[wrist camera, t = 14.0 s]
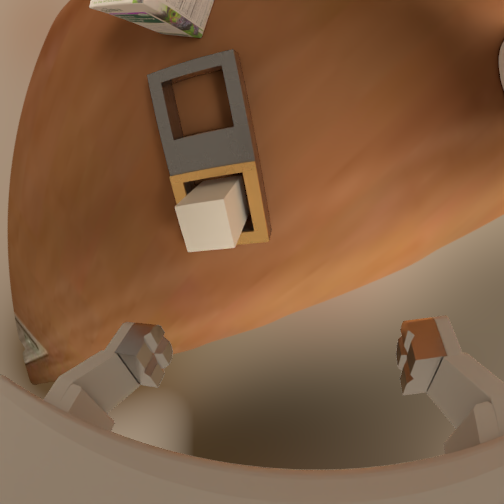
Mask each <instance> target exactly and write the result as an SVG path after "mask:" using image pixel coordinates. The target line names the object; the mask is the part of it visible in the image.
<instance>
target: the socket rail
mask: <svg viewBox="0 0 504 504" xmlns="http://www.w3.org/2000/svg"><path fill="white" fill-rule="evenodd" d="M218 70H223V74H224V79H225V84H226V89H227V94H228V99H229V104H230V109H231V114H232V119H233V124H234V126H230V127H225V128H220V129H215V130H211V131H206V132H202V133H197V134H193V135H189V136H185V137H183V133H182V128H181V124H180V119H179V115H178V110H177V105H176V101H175V96H174V91H173V87H172V83H175V82H178V81H181V80H185V79H188V78H192V77H195V76H199V75H203V74H206V73H210V72H214V71H218ZM147 77H148V83H149V87H150V92H151V97H152V102H153V106H154V111H155V115H156V120H157V124H158V129H159V133H160V137H161V141H162V145H163V149H164V153H165V157H166V161H167V165H168V169H169V173H170V177H169V178H170V182H171V185H172V189H173V193H174V196H175V200H176V203H177V204H178V203H179V202H180V201H181V200H182V199H183V198H184V197H185V196H187V195H188V194H189V193H190V192H191V191H192V190H193V189H194V188H195V183H194V180H199V179H205V178H210V177H216V176H222V175H228V174H235V173H241V172H243V177H244V182H245V187H246V192H247V197H248V202H249V207H250V212H251V218H252V221H246V222H245V225H244V227H243V229H242V232H241V234H240V237H239V239H238V241H237V244H236V245H240V244H250V243H261V242H269V240H270V235H271V230H272V229H271V223H270V217H269V211H268V205H267V199H266V194H265V188H264V182H263V177H262V171H261V165H260V160H259V154H258V149H257V144H256V138H255V133H254V128H253V122H252V117H251V112H250V107H249V102H248V97H247V91H246V86H245V81H244V77H243V72H242V67H241V62H240V57H239V54H238V53H237V52H236V51H235V50H233V49H232V50H228V51H223V52H219V53H215V54H211V55H208V56H204V57H200V58H197V59H193V60H190V61H186V62H183V63H180V64H177V65H174V66H171V67H168V68H165V69H162V70H159V71H157V72H154V73H151V74H148V75H147Z"/></svg>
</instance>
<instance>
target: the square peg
mask: <svg viewBox="0 0 504 504" xmlns="http://www.w3.org/2000/svg"><path fill="white" fill-rule="evenodd" d="M175 211H176V214H177V218H178V221H179V224H180V228H181V231H182V234H183V238H184V241H185V244H186V248H187V251H188V252H196V251H206V250H217V249H227V248H235V246H236V244H237V241H238V239H239V237H240V234H241V232H242V229H243V227H244V225H245V222H246V220H247V218H248V215H249V209H248V204H247V199H246V194H245V189H244V184H243V179H242V175H237V176H231V177H224V178H218V179H212V180H206V181H202V182H201V183H200V184H199V185H198V186H197V187H195V188H194V189H193V190H192V191H191V192H190V193H189V194H188V195H187V196H185V197H184V198H183V199H182V200H181V201H180V202H179V203H178V204H177V205H176V206H175Z"/></svg>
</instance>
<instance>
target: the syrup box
mask: <svg viewBox="0 0 504 504" xmlns="http://www.w3.org/2000/svg"><path fill="white" fill-rule="evenodd" d="M213 2H214V0H91V1H90V5H89V8H91V9H95V10H98V11H101V12H105V13H108V14H111V15H113V16H116V17H119V18H122V19H125V20H127V21H130V22H133V23H135V24H138V25H140V26H143V27H145V28H148V29H150V30H153V31H156V32H158V33H160V34H168V35H176V36H186V37H196V38H202V35H203V32H204V29H205V26H206V23H207V20H208V17H209V14H210V11H211V8H212V5H213Z"/></svg>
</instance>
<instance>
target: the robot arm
mask: <svg viewBox="0 0 504 504" xmlns="http://www.w3.org/2000/svg"><path fill="white" fill-rule="evenodd" d="M499 72H500V78H501V83H502V86H503V90H504V42H503V43H502V45H501V48H500V52H499ZM400 330H401V335H402V336H401V337H400V338H399V339H398V343H397V351H396V356H397V365H398V368H399V369H400V370H401V371H402V373H401V376H400V383H401V389H402V395H408V394H417V393H424V392H427V393H426V394H428V396H429V397H430V398H431V399H432V401H433V402H434V403H435V404H436V405H437V407H438V408H439V409H440V410H441V411H442V412H443V414H444V415H445V416H446V418H447V419H448V420H449V421H450V422H451V424H452V425H453V426H454V427H455V429H456V430H455V431H454V432H453V433H452V434H451V436H450V437H449V438H448V439H447V440H446V441H445V443H444V450H445V454H444V455H440V456H436V457H432V458H427V459H422V460H417V461H411V462H406V463H400V464H393V465H385V466H377V467H368V468H355V469H338V470H337V469H336V470H297V469H296V470H295V469H277V468H266V467H255V466H246V465H238V464H232V463H226V462H220V461H214V460H209V459H204V458H199V457H194V456H190V455H185V454H181V453H177V452H173V451H169V450H166V449H162V448H159V447H155V446H152V445H149V444H145V443H142V442H139V441H136V440H133V439H130V438H127V437H124V436H122V435H119V434H116V433H114V432H111V430H112V428H113V426H114V424H115V423H114V420H113V419H112V418H110V417H109V416H108V415H107V413H108V412H110V411H111V410H112V409H113V408H115V406H117V405H118V404H119V403H120V402H121V401H123V400H124V399H125V398H126V397H127V396H129V395H130V394H131V393H132V392H133V391H134V390H136V389H137V388H138V387H139V386H140V385H145V386H151V387H157V388H158V387H159V385H160V382H161V381H162V378H163V376H164V374H165V373H164V368H165V367H167V366H168V365H169V364H170V362H171V359H172V353H173V350H172V346H171V344H170V342H169V341H168V340H167V339H166V338H165V337H164V333H165V332H164V330H163V329H162V327H161V326H159V325H153V324H143V323H133V322H125V323H123V324H122V326H121V327H120V329H119V330H118V331H117V333H116V334H115V336H114V337H113V339H112V340H111V341H110V343H109V344H108V346H107V347H106V349H105V350H104V351H102V350H101V351H100V352H98V353H96V354H95V355H93V356H92V357H90V358H88V359H87V360H85V361H84V362H82V363H80V364H79V365H77V366H76V367H74V368H72V369H71V370H69V371H67V372H66V373H64V374H63V375H61V376H59V377H58V379H57V380H56V382H55V383H54V385H53V386H52V388H51V389H50V391H49V392H48V394H47V395H46V397H45V398H44V400H43V399H41V398H39V397H37V396H36V395H34V394H32V393H30V392H29V391H27V390H25V389H24V388H22V387H21V386H19V385H17V384H16V383H14V382H13V381H11V380H10V379H8V378H7V377H6V376H4V375H1V374H0V504H504V382H502V381H501V380H500V379H499V378H498V377H496V376H495V375H494V374H493V373H491V372H490V371H489V370H488V369H486V368H485V367H484V366H483V365H482V364H480V363H479V362H478V361H476V360H475V359H474V358H473V357H471V356H470V355H469V354H468V353H462V350H461V348H460V345H459V342H458V340H457V337H456V335H455V333H454V330H453V328H452V325H451V323H450V320H449V318H448V317H447V316H446V315H445V316H438V317H432V318H423V319H415V320H408V321H403V323H402V325H401V329H400ZM139 384H140V385H139Z"/></svg>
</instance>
